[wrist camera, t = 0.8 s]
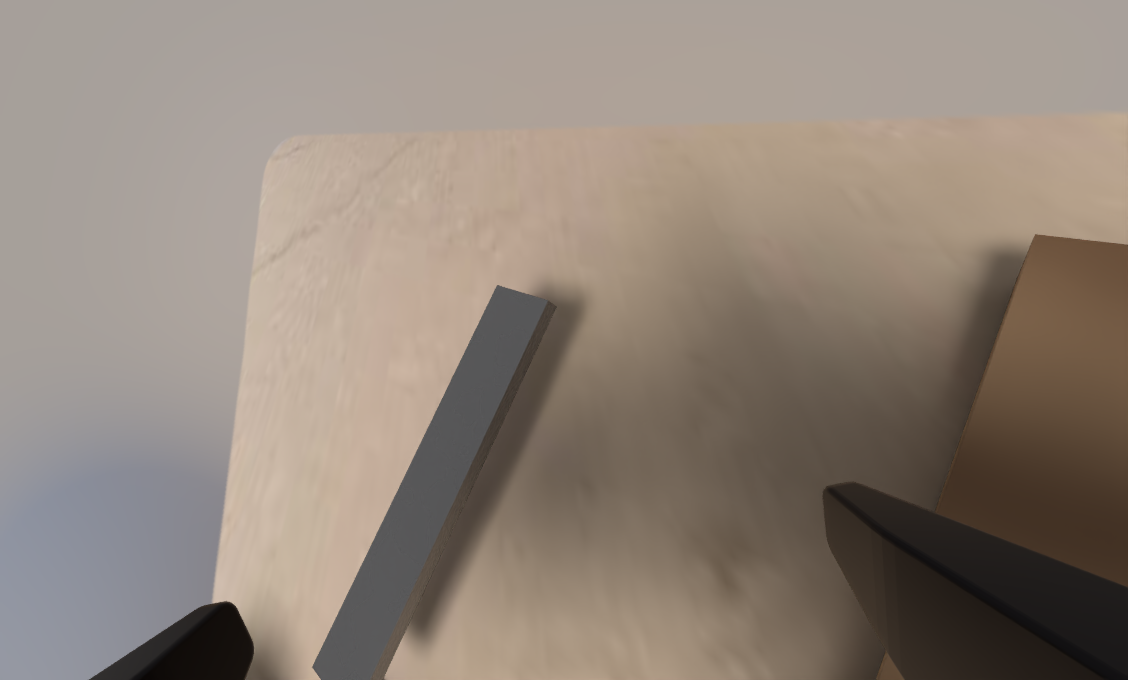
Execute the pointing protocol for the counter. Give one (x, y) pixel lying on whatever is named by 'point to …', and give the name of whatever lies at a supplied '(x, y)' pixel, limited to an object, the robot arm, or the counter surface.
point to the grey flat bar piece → (434, 489)
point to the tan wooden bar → (1052, 415)
